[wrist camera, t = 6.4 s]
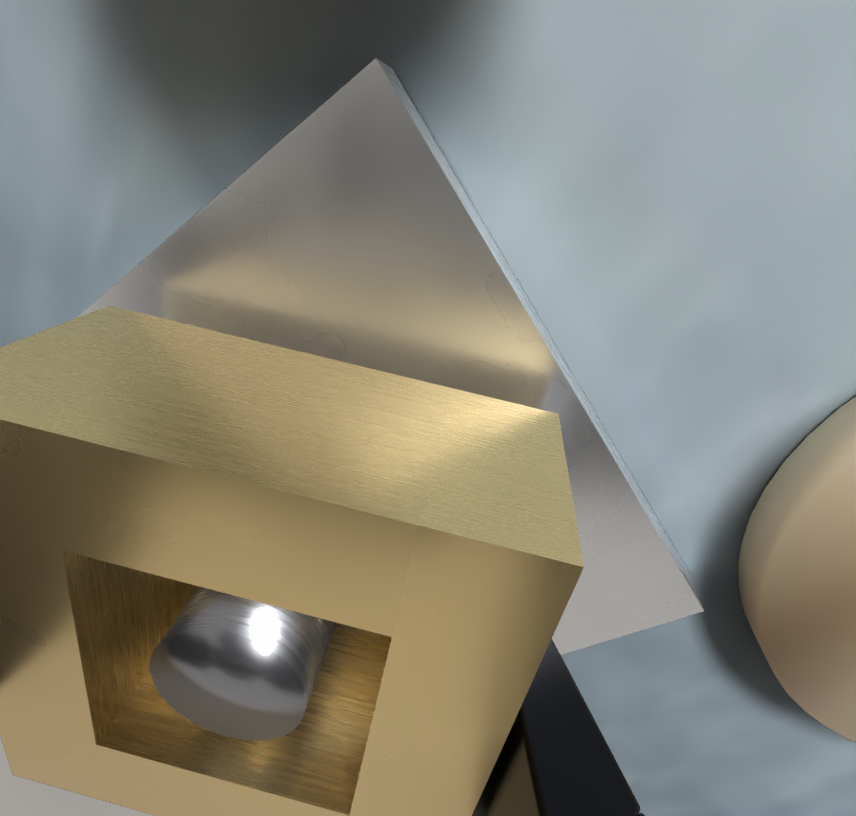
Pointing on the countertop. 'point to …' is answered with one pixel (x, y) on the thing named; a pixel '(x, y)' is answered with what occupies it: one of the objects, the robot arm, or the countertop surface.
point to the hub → (385, 351)
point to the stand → (808, 573)
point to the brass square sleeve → (269, 566)
